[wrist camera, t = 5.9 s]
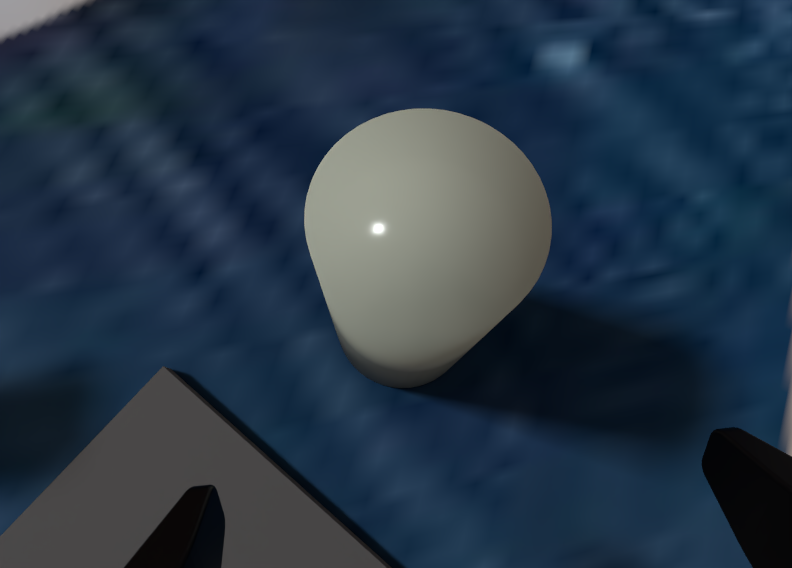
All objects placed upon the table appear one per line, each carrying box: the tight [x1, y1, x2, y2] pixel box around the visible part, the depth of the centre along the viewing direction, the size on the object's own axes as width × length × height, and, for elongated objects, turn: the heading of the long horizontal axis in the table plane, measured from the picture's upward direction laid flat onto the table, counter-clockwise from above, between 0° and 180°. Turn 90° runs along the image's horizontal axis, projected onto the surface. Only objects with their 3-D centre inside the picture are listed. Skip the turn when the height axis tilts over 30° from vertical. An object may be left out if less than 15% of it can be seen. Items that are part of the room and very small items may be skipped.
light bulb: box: [304, 109, 552, 388], centre depth 17 cm, size 6×6×11 cm
